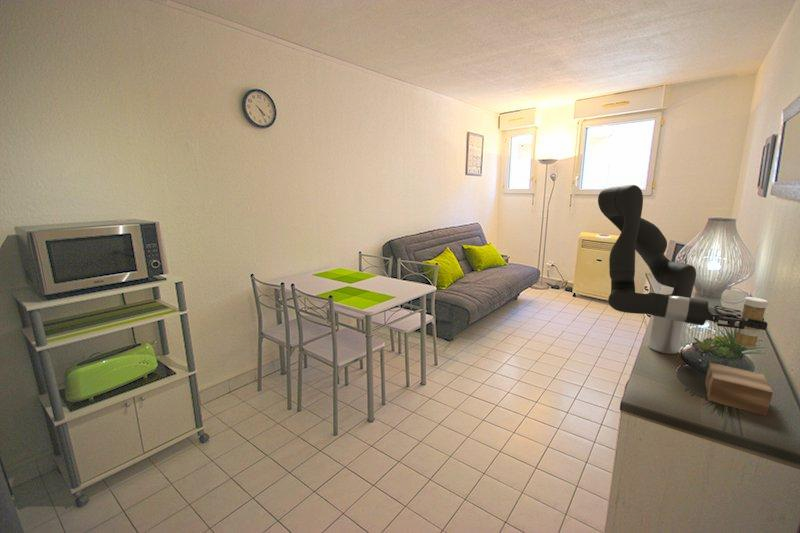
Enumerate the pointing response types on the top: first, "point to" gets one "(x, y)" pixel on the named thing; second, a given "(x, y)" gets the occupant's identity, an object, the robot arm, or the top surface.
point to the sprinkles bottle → (754, 311)
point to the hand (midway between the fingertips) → (764, 323)
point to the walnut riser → (738, 388)
